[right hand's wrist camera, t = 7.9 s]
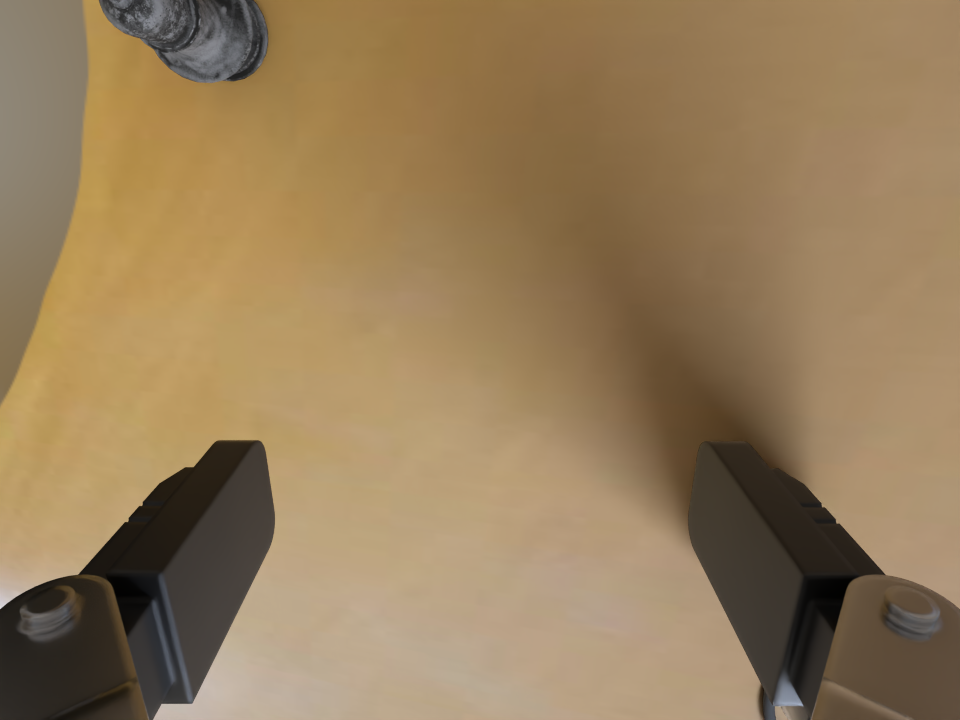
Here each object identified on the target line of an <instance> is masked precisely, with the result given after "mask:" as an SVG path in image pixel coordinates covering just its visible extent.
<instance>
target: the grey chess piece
mask: <svg viewBox="0 0 960 720" xmlns="http://www.w3.org/2000/svg"><path fill="white" fill-rule="evenodd" d="M99 2H100V5H101V8H102V10H103V12H104V14H105V16H106V17H107V19H108V20H109V21H110V22H111V23H112V24H113V25H114V26H115V27H116V28H118V29H119V30H121V31H122V32H124V33H125V34H128V35H131V36H134V37H138V38H140V39H141V40H142V41H143V42H144V43H145V44H147V45H148V46H150V47H151V48H153V49H154V51H155V52H156V54H157V55H158V57H159V58H160V59H161V60H162V61H163V62H164V63H165V64H166V65H167V66H168V67H169V68H170V69H171V70H172V71H174V72H176V73H177V74H179V75H180V76H182V77H183V78H186V79H189V80H192V81H195V82H203V83H214V82H218V81H237V80H241V79H245V78H246V77H248V76H250V75H251V74H253V73H254V72H255V71H256V70H257V69H258V68H259V66H260V65H261V64H262V61H263V59H264V57H265V55H266V51H267V46H268V32H267V26H266V23H265V19H264V16H263V14H262V13H261V11H260V9H259V7H258V5H257V4H256V3H255V2H254V0H99Z"/></svg>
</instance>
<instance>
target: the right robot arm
mask: <svg viewBox="0 0 960 720" xmlns="http://www.w3.org/2000/svg"><path fill="white" fill-rule="evenodd" d="M688 526H689V534H690V539H691V543H692V546H693V549H694V551H695V553H696V555H697V557H698V559H699V561H700V563H701V565H702V567H703V569H704V571H705V573H706V575H707V577H708V579H709V581H710V583H711V585H712V587H713V589H714V591H715V593H716V595H717V597H718V599H719V601H720V602H721V604H722V606H723V608H724V610H725V612H726V614H727V616H728V618H729V620H730V622H731V624H732V626H733V628H734V630H735V632H736V634H737V636H738V638H739V640H740V642H741V644H742V646H743V648H744V650H745V652H746V654H747V656H748V658H749V660H750V662H751V664H752V666H753V668H754V670H755V672H756V674H757V676H758V678H759V680H760V682H761V684H762V686H763V688H764V696H763V712H764V718H765V720H776V717H775V706H781V708H782V710H783V712H784V714H785V715H786V717H787V719H788V720H960V609H959V608H958V607H956V606H955V605H954V604H953V603H952V602H950V601H949V600H947V599H946V598H944V597H943V596H941V595H939V594H938V593H936V592H934V591H932V590H930V589H928V588H926V587H924V586H922V585H919V584H917V583H914V582H912V581H909V580H905V579H902V578H898V577H893V576H887V575H885V574H884V573H883V571H882V570H881V569H880V568H879V567H878V566H877V565H876V564H875V563H874V561H873V560H872V559H871V558H870V557H869V556H868V555H867V554H866V553H865V551H864V550H863V549H862V548H861V547H860V546H859V545H858V544H857V543H856V541H855V540H854V539H853V538H852V537H851V536H850V535H849V534H848V533H847V531H846V530H845V529H844V528H843V527H842V526H841V525H840V524H836V519H835V518H834V517H833V516H832V515H831V514H830V513H829V511H828V510H827V509H826V508H825V507H822V506H821V502H820V501H819V500H818V499H817V498H816V497H815V496H814V495H813V494H812V492H811V491H810V490H809V489H808V488H807V487H806V486H805V485H804V484H803V483H801V482H799V481H798V480H796V479H794V478H793V477H791V476H790V475H788V474H786V473H785V472H783V471H782V470H780V469H770V468H769V466H768V465H767V464H766V463H765V462H764V460H763V459H762V458H761V457H760V456H759V455H758V453H757V452H756V451H755V450H754V449H753V447H752V446H751V445H750V444H749V443H747V442H744V441H705V442H703V443H702V444H701V445H700V447H699V450H698V454H697V460H696V467H695V474H694V480H693V487H692V494H691V500H690V507H689V515H688ZM274 527H275V512H274V505H273V498H272V491H271V485H270V478H269V471H268V464H267V458H266V452H265V448H264V445H263V444H262V442H261V441H258V440H219V441H216V442H215V443H214V444H213V445H212V446H211V447H210V448H209V450H208V451H207V452H206V453H205V454H204V456H203V457H202V458H201V459H200V460H199V462H198V463H197V464H196V465H195V466H194V467H185V468H184V469H182V470H180V471H179V472H177V473H176V474H174V475H172V476H171V477H169V478H168V479H166V480H164V481H163V482H161V483H159V485H158V486H157V487H156V488H155V489H154V490H153V491H152V492H151V494H150V495H149V496H148V497H147V498H146V499H145V500H144V501H143V505H142V506H139V507H138V508H137V509H136V510H135V512H134V513H133V514H132V515H131V516H130V517H129V521H128V522H125V523H124V524H123V525H122V526H121V527H120V528H119V530H118V531H117V532H116V533H115V534H114V535H113V536H112V537H111V538H110V540H109V541H108V542H107V543H106V544H105V545H104V546H103V547H102V549H101V550H100V551H99V552H98V553H97V554H96V555H95V556H94V558H93V559H92V560H91V561H90V562H89V563H88V564H87V565H86V567H85V568H84V569H83V570H82V571H81V572H80V573H79V574H78V575H73V576H67V577H62V578H58V579H55V580H51V581H48V582H46V583H43V584H41V585H38V586H36V587H34V588H32V589H30V590H28V591H26V592H24V593H22V594H21V595H19V596H17V597H16V598H14V599H13V600H11V601H10V602H8V603H7V604H6V605H5V606H4V607H2V608H1V609H0V720H153V718H154V716H155V715H156V713H157V711H158V709H159V707H160V706H161V704H192V703H193V701H194V699H195V697H196V695H197V693H198V691H199V689H200V687H201V685H202V683H203V681H204V679H205V677H206V675H207V673H208V671H209V669H210V667H211V665H212V663H213V661H214V659H215V657H216V655H217V653H218V651H219V649H220V647H221V645H222V643H223V641H224V639H225V637H226V635H227V633H228V631H229V629H230V627H231V624H232V622H233V620H234V618H235V616H236V614H237V612H238V610H239V608H240V606H241V604H242V602H243V600H244V598H245V596H246V594H247V592H248V590H249V588H250V586H251V584H252V582H253V580H254V578H255V576H256V574H257V572H258V570H259V568H260V566H261V564H262V562H263V560H264V558H265V556H266V554H267V552H268V550H269V548H270V545H271V542H272V539H273V534H274Z"/></svg>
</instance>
